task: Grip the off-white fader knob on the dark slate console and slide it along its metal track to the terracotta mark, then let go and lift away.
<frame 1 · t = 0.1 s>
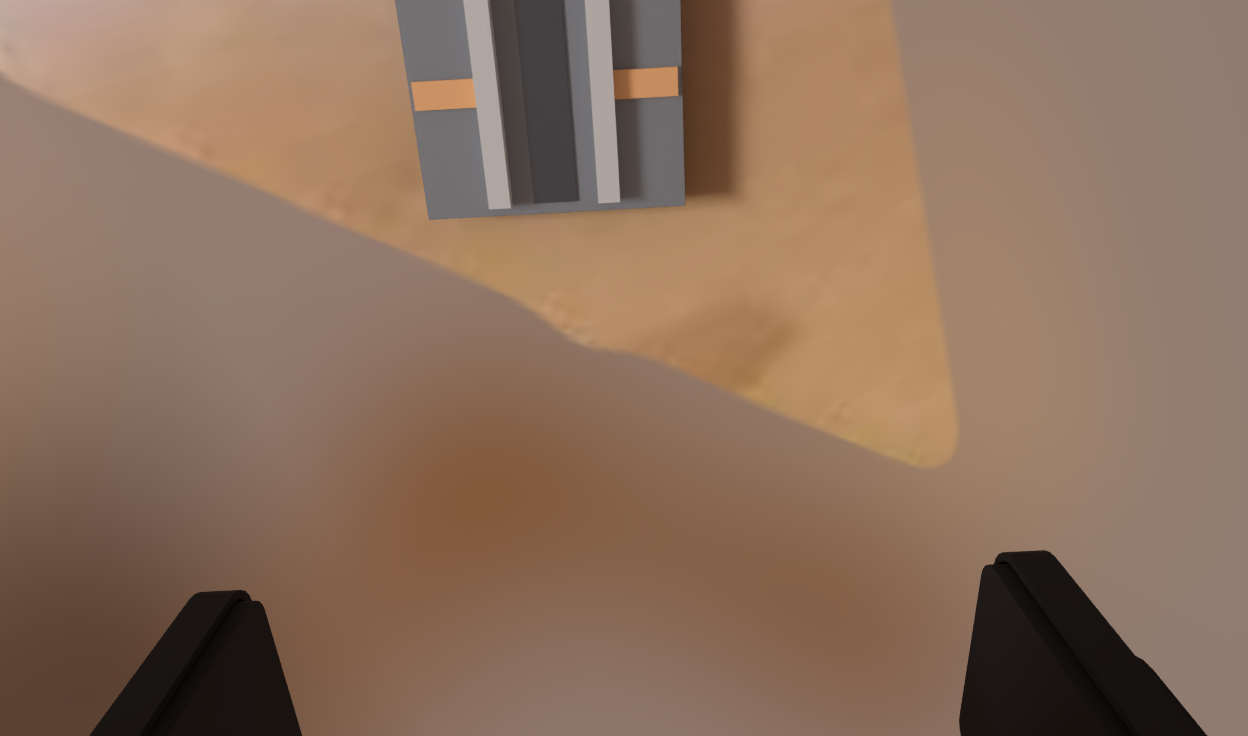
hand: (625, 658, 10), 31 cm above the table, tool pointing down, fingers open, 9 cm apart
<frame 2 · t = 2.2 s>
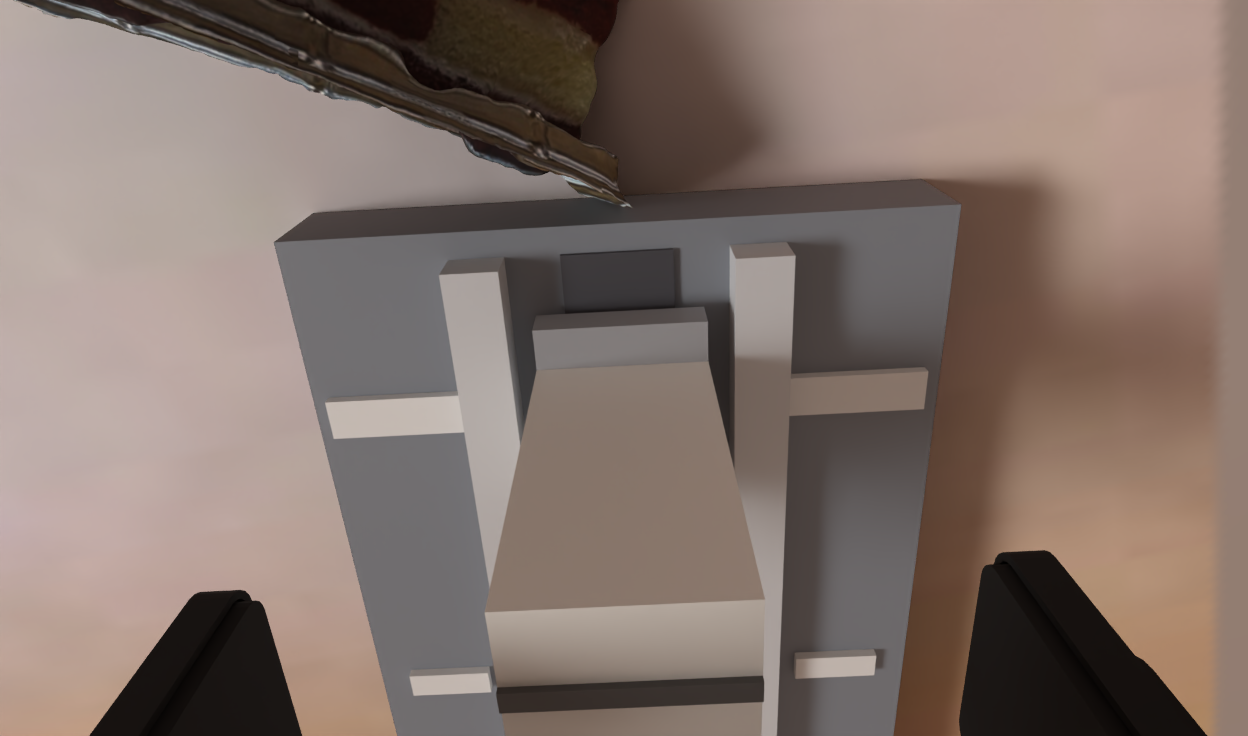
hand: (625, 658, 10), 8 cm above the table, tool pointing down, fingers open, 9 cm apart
fader knob: (627, 517, 12), point 6 cm above the table, slide at 0.0 cm
console: (641, 638, 21), on the table
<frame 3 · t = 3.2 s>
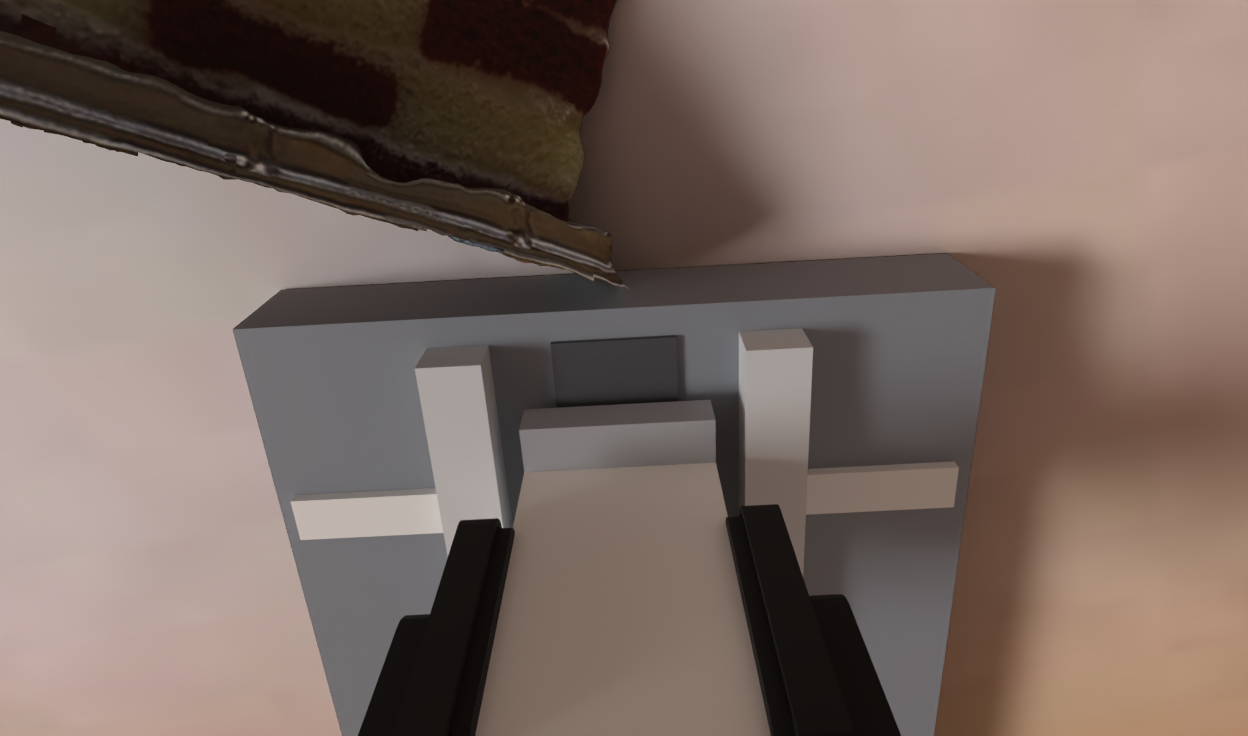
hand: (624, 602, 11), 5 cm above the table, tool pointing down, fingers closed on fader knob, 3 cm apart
fader knob: (625, 655, 11), point 6 cm above the table, slide at 0.0 cm, touching gripper
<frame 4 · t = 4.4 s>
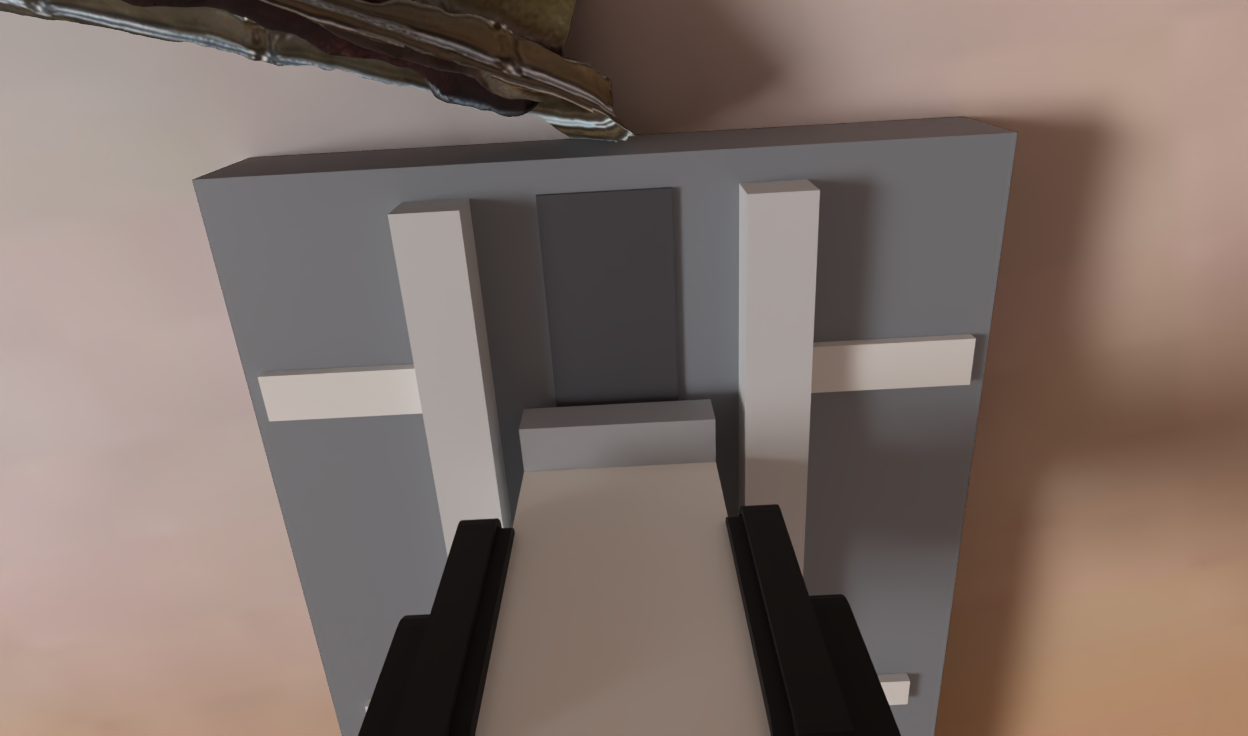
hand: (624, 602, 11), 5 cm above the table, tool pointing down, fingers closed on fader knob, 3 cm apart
fader knob: (625, 654, 11), point 6 cm above the table, slide at 2.3 cm, touching gripper
console: (636, 661, 18), on the table
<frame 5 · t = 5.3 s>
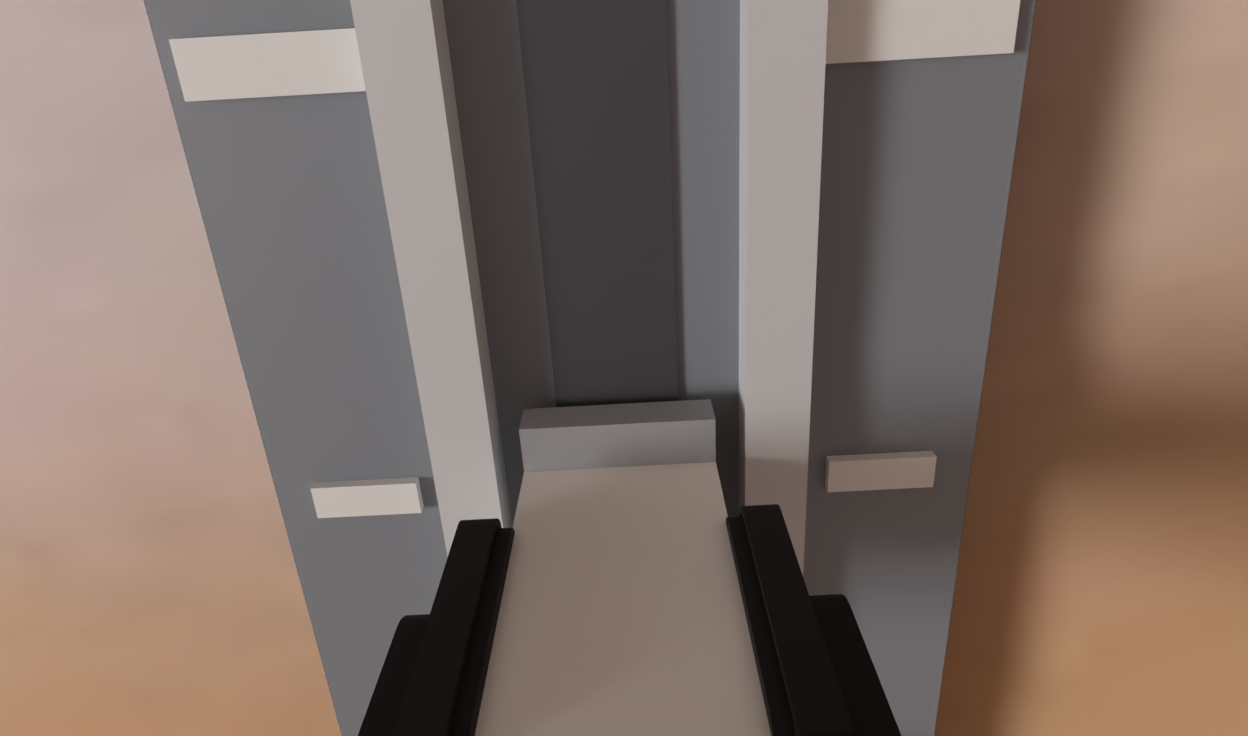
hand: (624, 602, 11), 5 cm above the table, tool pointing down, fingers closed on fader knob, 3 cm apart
fader knob: (625, 654, 11), point 6 cm above the table, slide at 7.3 cm, touching gripper
console: (624, 471, 16), on the table
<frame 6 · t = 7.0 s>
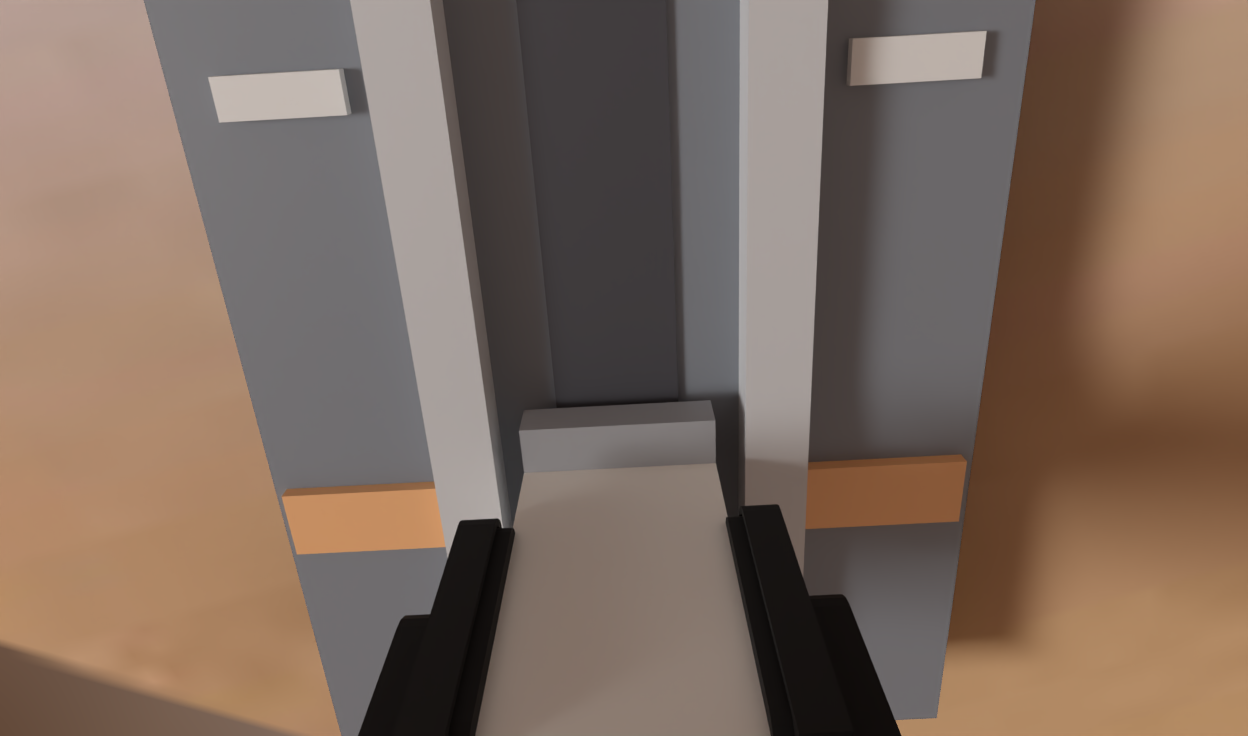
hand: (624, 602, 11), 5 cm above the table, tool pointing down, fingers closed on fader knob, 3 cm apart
fader knob: (625, 656, 11), point 6 cm above the table, slide at 13.9 cm, touching gripper
console: (603, 131, 13), on the table
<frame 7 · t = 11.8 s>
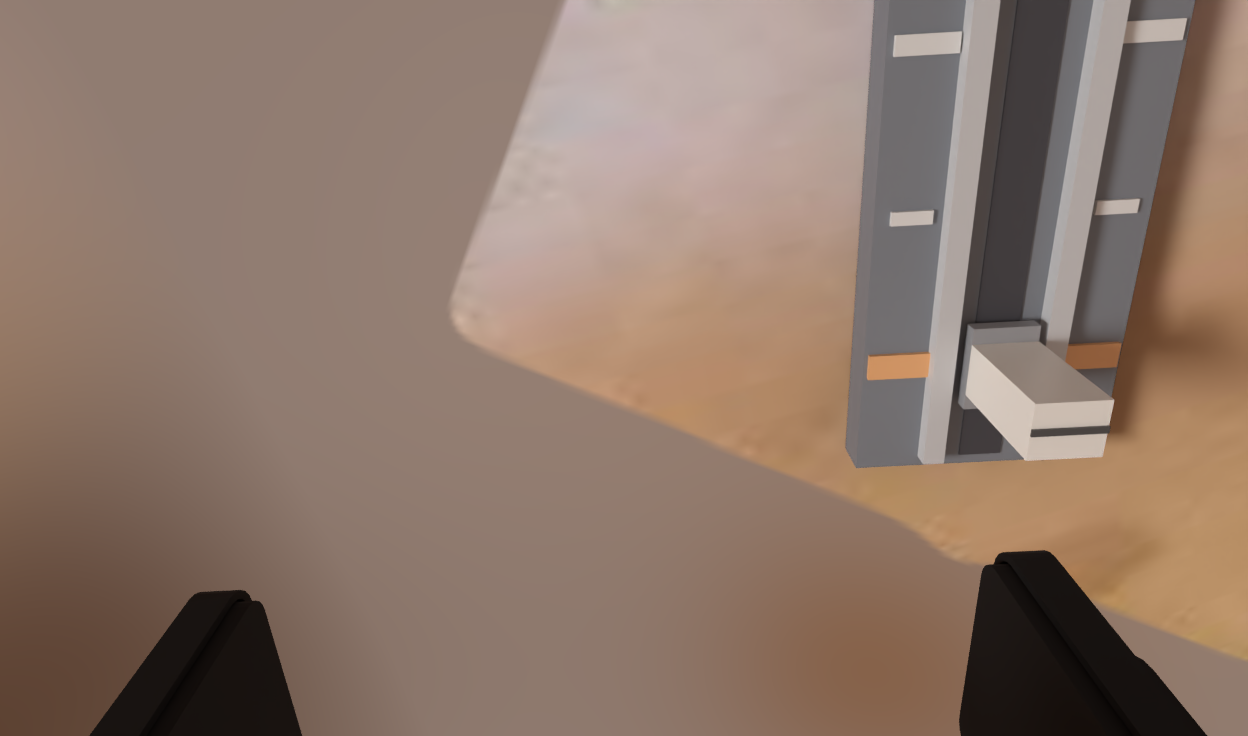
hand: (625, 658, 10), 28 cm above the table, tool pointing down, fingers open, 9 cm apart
fader knob: (1029, 394, 34), point 6 cm above the table, slide at 14.0 cm
console: (989, 223, 37), on the table
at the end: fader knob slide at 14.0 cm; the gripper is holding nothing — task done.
